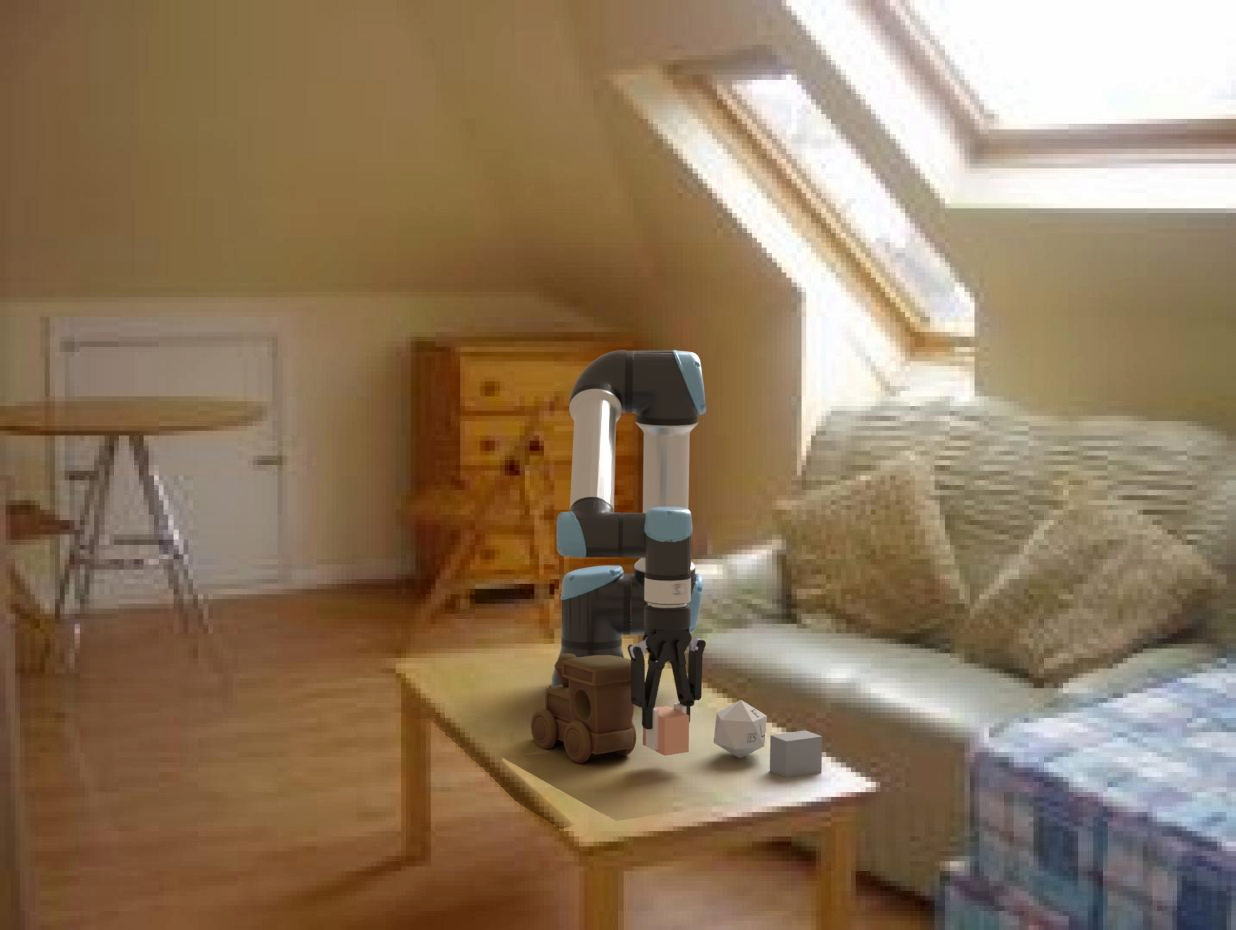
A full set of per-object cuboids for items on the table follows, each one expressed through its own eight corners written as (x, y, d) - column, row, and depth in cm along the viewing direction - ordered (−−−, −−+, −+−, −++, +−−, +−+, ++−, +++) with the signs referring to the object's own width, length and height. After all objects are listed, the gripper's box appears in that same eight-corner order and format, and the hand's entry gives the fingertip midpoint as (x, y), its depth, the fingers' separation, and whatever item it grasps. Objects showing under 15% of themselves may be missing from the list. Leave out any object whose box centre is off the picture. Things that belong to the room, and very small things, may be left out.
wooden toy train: (646, 761, 249) (647, 662, 248) (589, 771, 243) (590, 669, 242) (579, 736, 266) (580, 643, 265) (524, 745, 259) (525, 649, 258)
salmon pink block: (642, 745, 246) (643, 708, 245) (666, 741, 248) (666, 705, 247) (664, 755, 240) (664, 718, 239) (688, 752, 242) (689, 715, 241)
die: (752, 768, 245) (753, 708, 245) (704, 760, 250) (704, 701, 250) (775, 757, 253) (776, 698, 252) (728, 749, 257) (728, 692, 257)
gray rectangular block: (769, 771, 244) (770, 735, 243) (805, 766, 247) (805, 730, 247) (785, 778, 240) (786, 741, 239) (821, 773, 243) (822, 736, 243)
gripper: (631, 611, 234) (629, 758, 236) (726, 603, 243) (724, 745, 245) (608, 604, 241) (607, 747, 243) (701, 596, 249) (699, 734, 251)
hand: (665, 745), depth 244 cm, fingers closed on salmon pink block, 4 cm apart
